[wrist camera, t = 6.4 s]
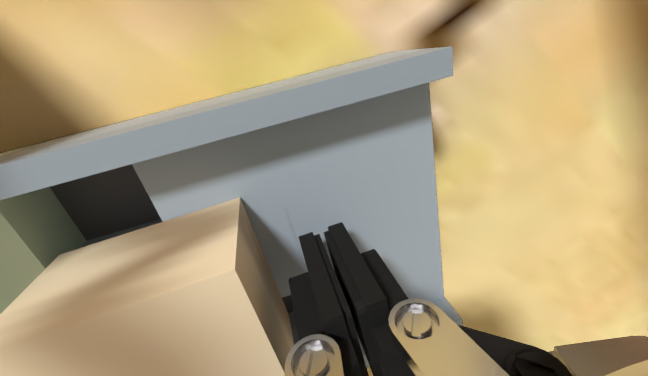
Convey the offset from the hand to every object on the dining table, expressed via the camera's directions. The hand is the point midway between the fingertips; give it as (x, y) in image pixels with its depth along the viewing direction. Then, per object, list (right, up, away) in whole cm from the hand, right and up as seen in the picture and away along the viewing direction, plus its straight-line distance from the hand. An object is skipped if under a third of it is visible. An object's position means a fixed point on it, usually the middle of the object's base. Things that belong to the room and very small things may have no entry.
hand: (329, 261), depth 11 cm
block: (-5, -1, 0) cm, 5 cm away
